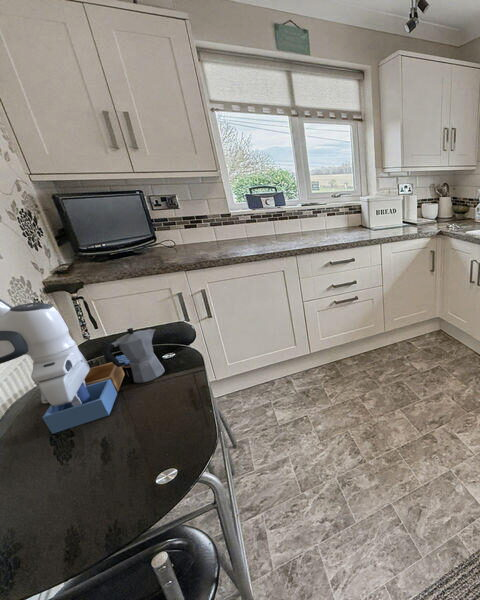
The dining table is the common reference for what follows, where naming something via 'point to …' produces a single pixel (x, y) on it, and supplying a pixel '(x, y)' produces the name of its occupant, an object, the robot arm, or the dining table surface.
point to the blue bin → (82, 408)
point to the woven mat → (123, 359)
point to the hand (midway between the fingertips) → (81, 400)
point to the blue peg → (84, 394)
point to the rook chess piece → (42, 395)
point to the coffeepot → (137, 355)
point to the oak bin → (105, 375)
